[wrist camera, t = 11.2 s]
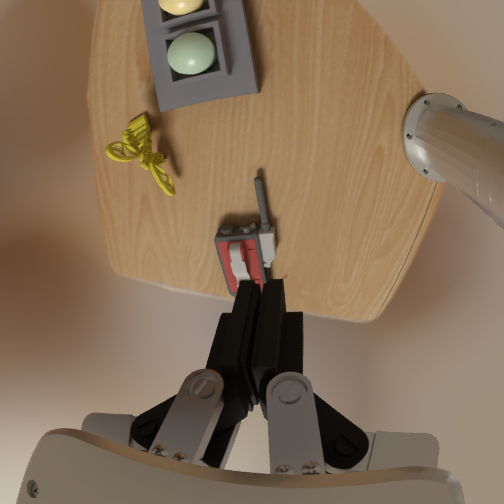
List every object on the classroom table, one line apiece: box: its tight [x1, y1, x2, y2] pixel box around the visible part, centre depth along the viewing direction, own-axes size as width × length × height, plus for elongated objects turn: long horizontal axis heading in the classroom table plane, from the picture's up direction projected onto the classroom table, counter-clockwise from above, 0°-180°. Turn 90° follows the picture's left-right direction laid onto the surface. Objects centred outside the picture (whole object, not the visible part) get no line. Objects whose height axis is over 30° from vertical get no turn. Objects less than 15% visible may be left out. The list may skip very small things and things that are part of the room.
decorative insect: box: [105, 114, 175, 196], centre depth 32 cm, size 13×3×10 cm
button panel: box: [141, 0, 260, 112], centre depth 21 cm, size 12×28×5 cm, turn 8°
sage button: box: [167, 32, 218, 75], centre depth 24 cm, size 5×5×2 cm
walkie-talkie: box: [214, 177, 276, 297], centre depth 40 cm, size 9×4×20 cm
